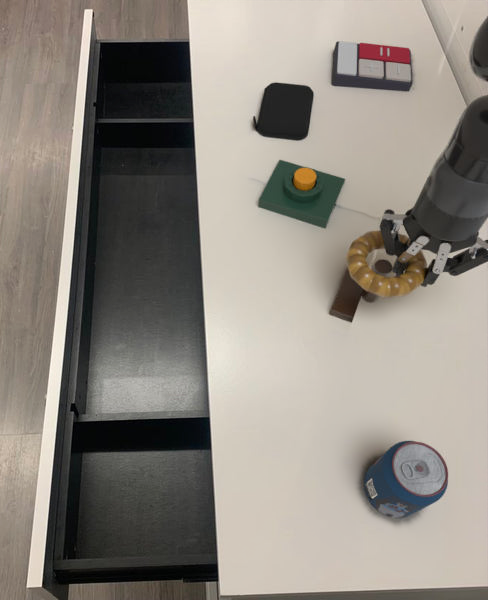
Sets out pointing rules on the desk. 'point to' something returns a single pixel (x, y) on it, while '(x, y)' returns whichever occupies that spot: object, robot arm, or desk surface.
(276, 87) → the carrying case
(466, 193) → the robot arm
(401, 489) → the soda can
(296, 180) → the button
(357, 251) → the ring
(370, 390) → the desk surface
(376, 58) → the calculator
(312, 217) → the green push button box
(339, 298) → the stand
